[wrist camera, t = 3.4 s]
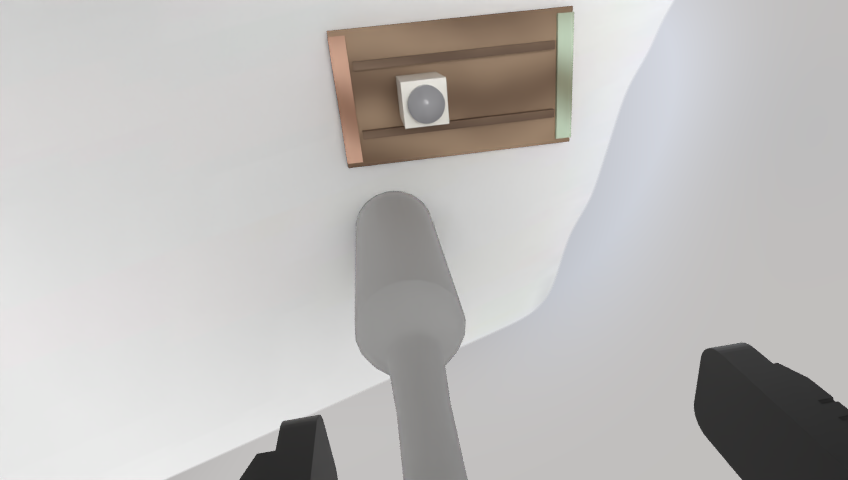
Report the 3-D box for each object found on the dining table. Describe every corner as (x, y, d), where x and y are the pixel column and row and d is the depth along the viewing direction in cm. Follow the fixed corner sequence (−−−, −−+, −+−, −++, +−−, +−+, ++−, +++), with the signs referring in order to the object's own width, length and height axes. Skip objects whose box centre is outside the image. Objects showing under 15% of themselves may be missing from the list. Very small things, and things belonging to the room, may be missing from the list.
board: (327, 31, 36) (326, 31, 34) (566, 6, 37) (575, 5, 35) (348, 164, 40) (348, 170, 38) (563, 138, 41) (572, 142, 39)
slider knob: (395, 76, 36) (401, 83, 31) (435, 71, 36) (448, 78, 31) (400, 117, 37) (406, 130, 32) (438, 112, 38) (451, 125, 32)
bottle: (379, 273, 44) (401, 612, 18) (341, 213, 41) (307, 509, 16) (444, 241, 43) (562, 541, 18) (410, 177, 41) (492, 423, 15)
